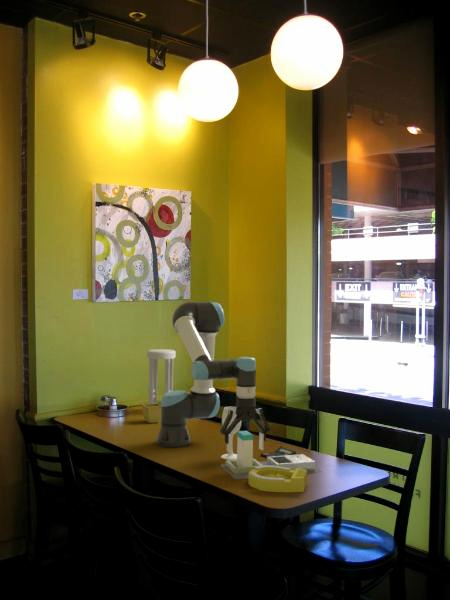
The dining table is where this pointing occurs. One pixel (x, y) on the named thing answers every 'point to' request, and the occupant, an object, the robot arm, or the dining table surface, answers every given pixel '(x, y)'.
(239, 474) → the mat
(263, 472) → the ashtray
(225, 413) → the wineglass
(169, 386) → the stool
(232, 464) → the grey square tray
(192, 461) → the dining table surface
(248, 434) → the cream green box
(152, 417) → the flower pot
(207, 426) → the dining table surface
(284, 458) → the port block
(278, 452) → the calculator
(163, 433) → the robot arm
